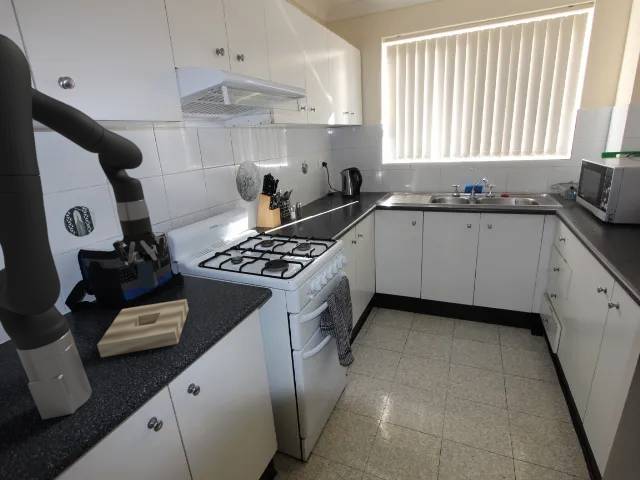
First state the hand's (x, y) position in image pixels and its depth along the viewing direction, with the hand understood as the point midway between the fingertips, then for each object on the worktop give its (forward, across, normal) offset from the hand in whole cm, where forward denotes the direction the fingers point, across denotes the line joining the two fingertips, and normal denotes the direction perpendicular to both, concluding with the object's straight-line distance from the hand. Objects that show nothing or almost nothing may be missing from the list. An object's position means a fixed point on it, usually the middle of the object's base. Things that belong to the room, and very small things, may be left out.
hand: (146, 272), depth 99 cm
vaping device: (+5, 0, 0) cm, 5 cm away
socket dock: (+19, -3, -1) cm, 19 cm away
